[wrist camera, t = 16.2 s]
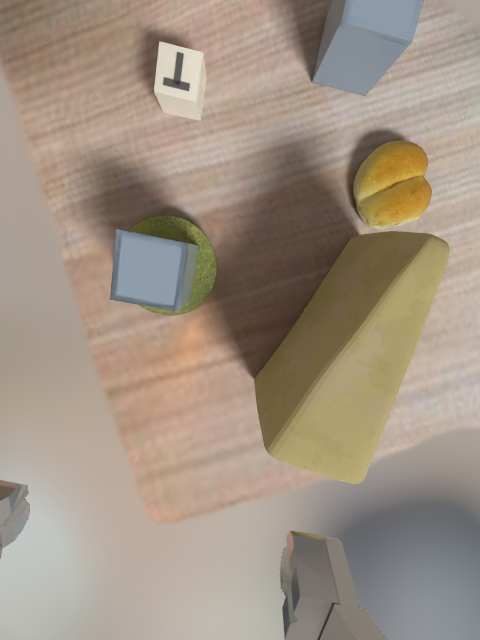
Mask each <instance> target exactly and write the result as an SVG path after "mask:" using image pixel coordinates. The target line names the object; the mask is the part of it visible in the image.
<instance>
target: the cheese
mask: <svg viewBox="0 0 480 640" xmlns="http://www.w3.org/2000/svg"><path fill="white" fill-rule="evenodd" d="M449 253H450V248H449V245H448V243H447V242H445V241H444V240H442V239H440V238H438V237H436V236H434V235H432V234H427V233H411V232H397V231H389V232H380V233H372V234H364V235H356V236H353V237H352V238H351V239H350V240H349V242H348V243H347V244H346V246H345V247H344V249H343V251H342V252H341V254H340V255H339V257H338V258H337V260H336V261H335V263H334V264H333V266H332V267H331V269H330V271H329V272H328V274H327V275H326V277H325V278H324V280H323V281H322V283H321V284H320V286H319V288H318V289H317V291H316V292H315V294H314V295H313V297H312V298H311V300H310V302H309V303H308V305H307V306H306V308H305V309H304V311H303V312H302V314H301V315H300V317H299V318H298V320H297V321H296V323H295V324H294V326H293V327H292V329H291V330H290V332H289V333H288V335H287V336H286V337H285V339H284V340H283V342H282V343H281V344H280V346H279V347H278V348H277V350H276V351H275V352H274V354H273V355H272V356H271V358H270V359H269V360H268V362H267V363H266V364H265V365H264V367H263V368H262V369H261V371H260V372H259V373H258V374H257V376H256V377H255V380H254V383H255V392H256V402H257V409H258V415H259V421H260V426H261V431H262V436H263V441H264V446H265V449H266V451H267V452H268V454H269V455H271V456H272V457H274V458H276V459H278V460H280V461H283V462H286V463H288V464H291V465H294V466H297V467H300V468H303V469H306V470H309V471H312V472H315V473H318V474H321V475H324V476H327V477H330V478H333V479H336V480H340V481H343V482H347V483H352V484H358V483H360V482H361V481H362V480H363V479H364V478H365V475H366V473H367V470H368V467H369V465H370V462H371V459H372V457H373V454H374V452H375V449H376V447H377V444H378V442H379V439H380V437H381V434H382V432H383V429H384V427H385V424H386V422H387V419H388V417H389V414H390V412H391V409H392V407H393V404H394V402H395V399H396V396H397V394H398V391H399V388H400V386H401V383H402V381H403V378H404V375H405V373H406V370H407V368H408V365H409V363H410V360H411V357H412V355H413V352H414V350H415V347H416V344H417V342H418V339H419V336H420V334H421V331H422V328H423V326H424V323H425V320H426V318H427V315H428V312H429V310H430V307H431V305H432V302H433V300H434V297H435V294H436V292H437V289H438V287H439V284H440V282H441V279H442V277H443V274H444V271H445V268H446V265H447V262H448V258H449Z"/></svg>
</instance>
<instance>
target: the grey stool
mask: <svg viewBox="0 0 480 640" xmlns="http://www.w3.org/2000/svg"><path fill="white" fill-rule="evenodd" d="M198 247H199V246H197V245H193V244H188V243H183V242H178V241H173V240H168V239H163V238H158V237H153V236H148V235H143V234H138V233H133V232H129V231H124V230H119V229H116V238H115V249H114V261H113V272H112V283H111V294H110V300H116V301H121V302H127V303H132V304H138V305H143V306H149V307H154V308H160V309H166V310H171V311H177V312H179V310H180V309H181V308H182V307H183V306H184V305H185V304H186V302H187V301H188V300H189V299H190V298H191V292H192V285H193V279H194V272H195V266H196V260H197V253H198Z"/></svg>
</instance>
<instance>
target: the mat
mask: <svg viewBox="0 0 480 640" xmlns="http://www.w3.org/2000/svg"><path fill="white" fill-rule="evenodd" d="M129 232H133V233H138V234H143V235H148V236H153V237H158V238H163V239H168V240H173V241H178V242H183V243H188V244H193V245H197V246H199V247H198V253H197V260H196V266H195V272H194V279H193V285H192V292H191V298H190V299H189V300H188V301H187V302H186V304H185V305H184V306H183V307H182V308H181V309H180V310H179V312H177V311H171V310H166V309H160V308H154V307H149V306H143V305H140V306H141V307H143V308H145V309H147V310H149V311H151V312H154V313H157V314H162V315H170V316H171V315H179V314H183V313H186V312H189V311H191V310H193V309H195V308H196V307H198V306H199V305H200V304H201V303H202V302H203V301H204V300H205V299H206V298H207V297H208V295H209V293H210V292H211V290H212V288H213V286H214V283H215V279H216V272H217V264H216V258H215V254H214V250H213V248H212V246H211V244H210V242H209V241H208V240H207V238H206V236H205V235H204V233H202V231H201V230H200V229H198V228H197V227H196V226H195V225H193V224H192V223H190V222H189V221H186V220H184V219H182V218H179V217H174V216H165V215H164V216H163V215H161V216H160V215H159V216H153V217H150V218H147V219H145V220H142V221H141V222H139V223H137V224H136V225H135V226H133V227H132V228H131V229H130V230H129Z"/></svg>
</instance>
